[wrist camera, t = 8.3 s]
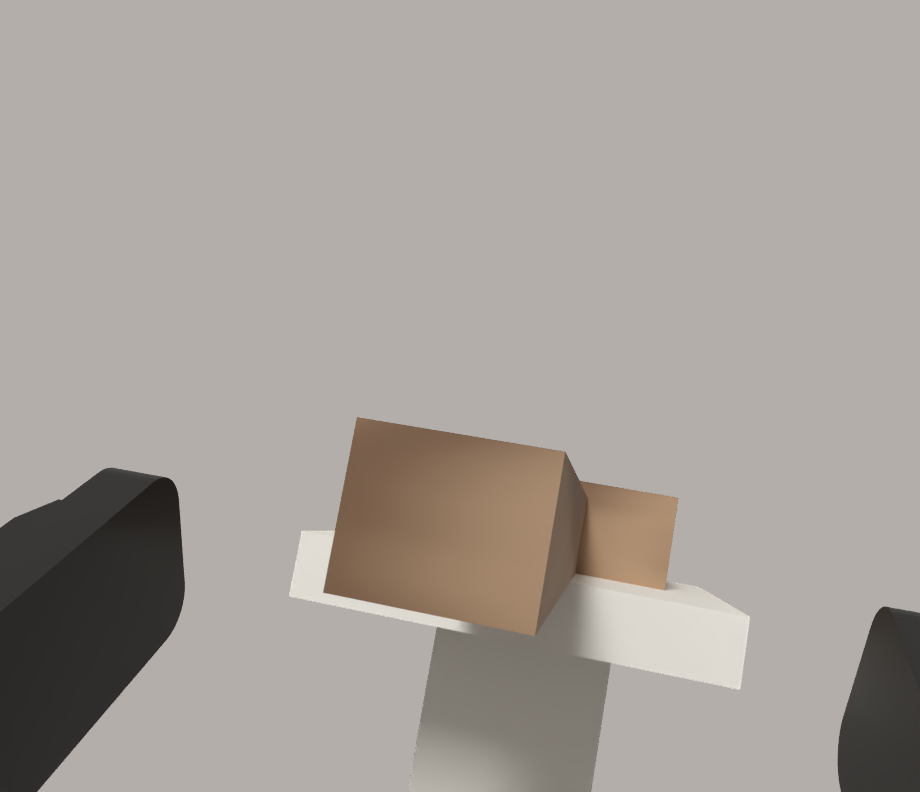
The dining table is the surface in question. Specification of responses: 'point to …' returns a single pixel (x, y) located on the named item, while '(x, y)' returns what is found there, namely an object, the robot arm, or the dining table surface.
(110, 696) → the robot arm
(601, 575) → the tan angular block
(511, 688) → the white pedestal stand
